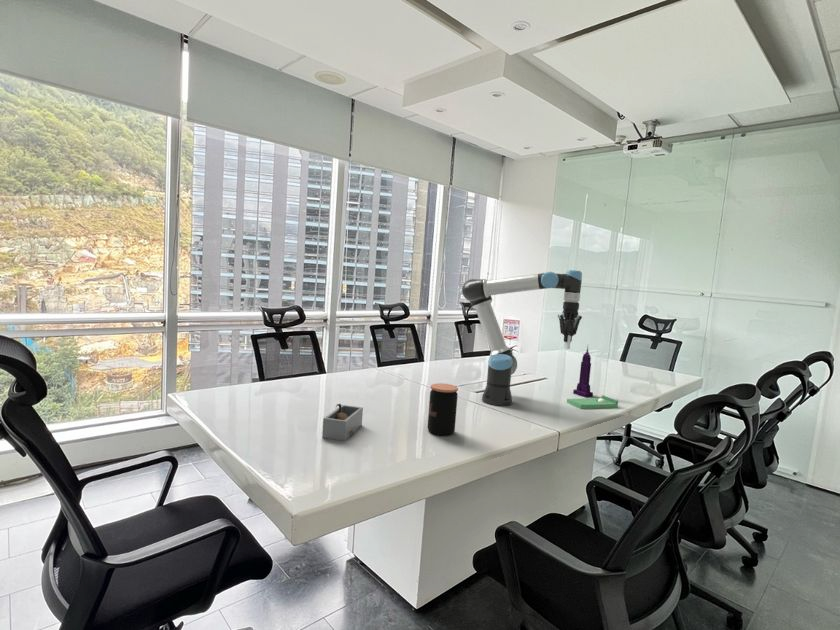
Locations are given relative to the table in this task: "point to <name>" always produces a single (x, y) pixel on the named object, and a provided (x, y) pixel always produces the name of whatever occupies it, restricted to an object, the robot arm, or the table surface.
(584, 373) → the building model
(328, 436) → the open storage box
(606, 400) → the green
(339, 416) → the figurine
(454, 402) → the coffee jar
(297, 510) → the table surface
